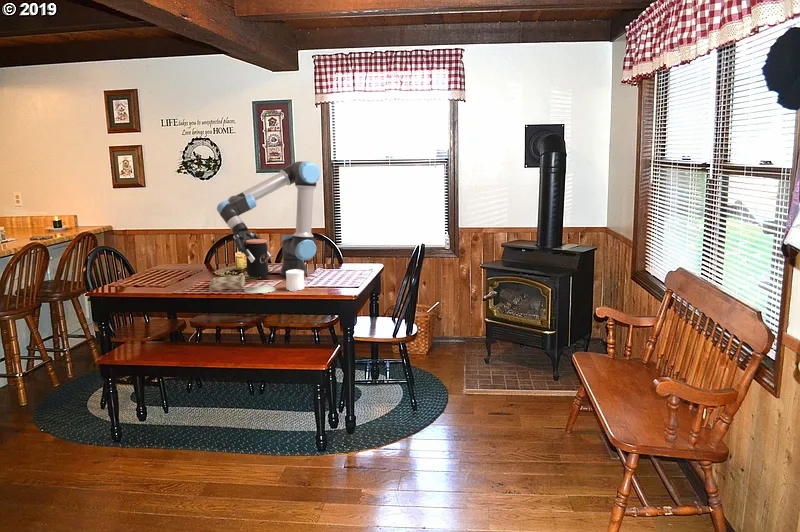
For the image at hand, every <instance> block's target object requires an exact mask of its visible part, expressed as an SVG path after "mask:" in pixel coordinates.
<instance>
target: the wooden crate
mask: <svg viewBox="0 0 800 532" xmlns="http://www.w3.org/2000/svg"><path fill="white" fill-rule="evenodd" d="M245 284H246V278H245V276H221V277H220V276H217V277H213V278H212V279H211V280H210V282H209V283H208V287H209V291H221V290H222V289H229V290H242V289H243V288H242V287H244V285H245ZM222 291H223V290H222Z"/></svg>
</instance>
